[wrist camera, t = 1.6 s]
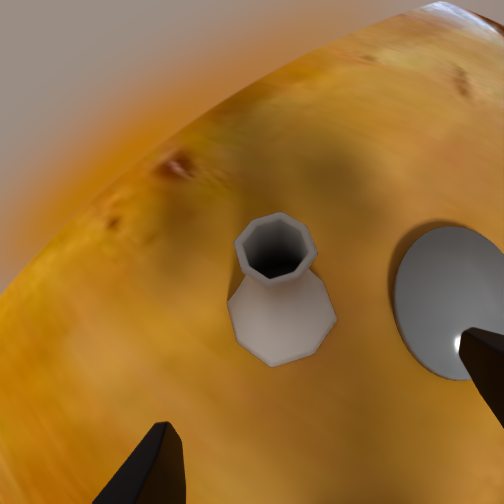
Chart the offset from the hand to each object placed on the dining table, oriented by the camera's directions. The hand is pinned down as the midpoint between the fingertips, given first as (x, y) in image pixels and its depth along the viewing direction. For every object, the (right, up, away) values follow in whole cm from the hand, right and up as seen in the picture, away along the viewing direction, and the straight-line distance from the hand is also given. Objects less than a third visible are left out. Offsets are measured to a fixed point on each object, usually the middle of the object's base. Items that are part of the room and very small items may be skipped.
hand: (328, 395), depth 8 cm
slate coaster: (+14, 0, +12) cm, 18 cm away
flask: (0, 0, +14) cm, 14 cm away
